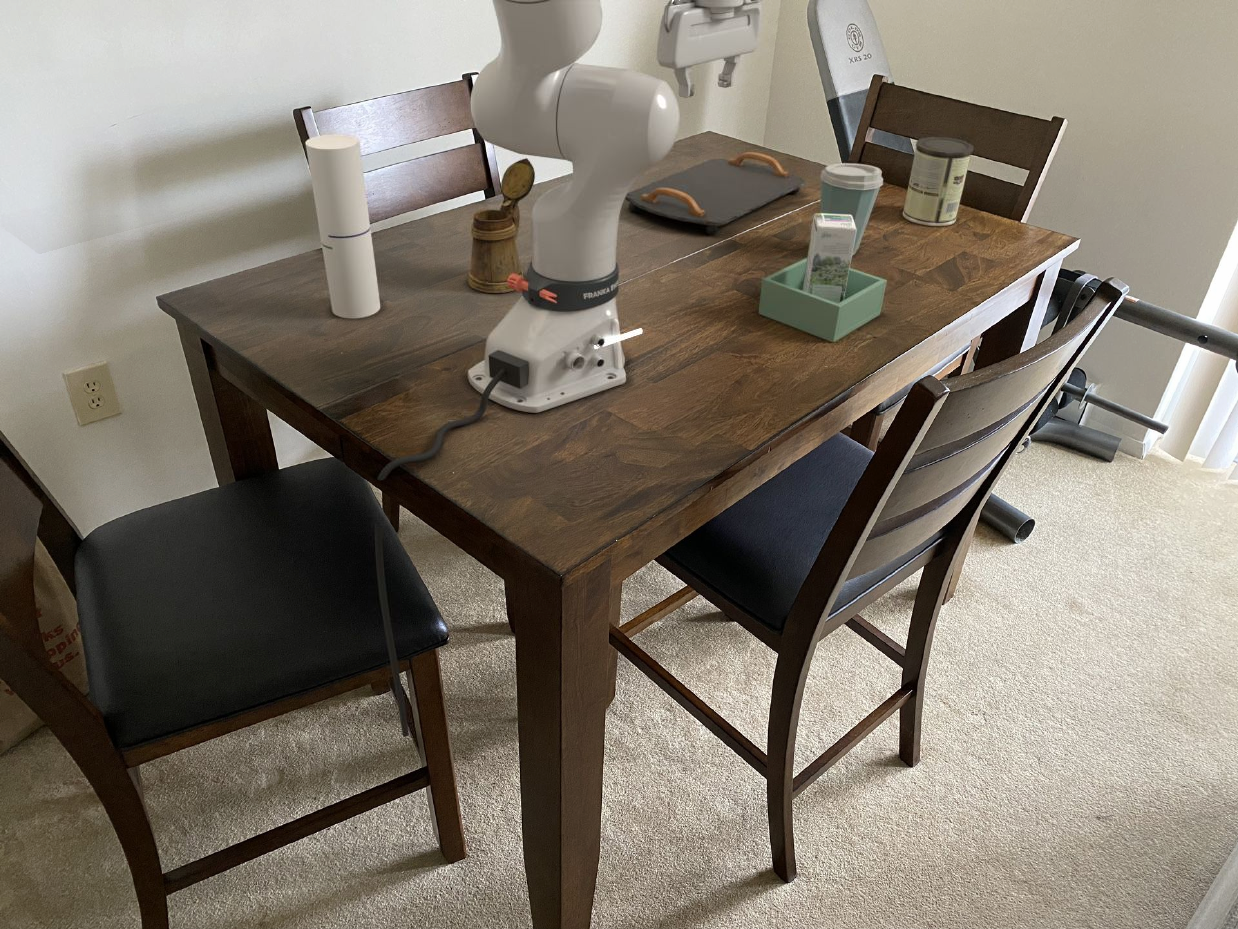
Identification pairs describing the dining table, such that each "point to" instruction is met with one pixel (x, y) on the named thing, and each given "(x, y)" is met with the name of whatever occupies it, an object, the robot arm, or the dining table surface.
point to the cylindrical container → (344, 224)
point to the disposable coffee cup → (850, 193)
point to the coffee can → (937, 181)
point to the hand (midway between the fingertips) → (705, 91)
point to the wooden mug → (500, 233)
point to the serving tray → (716, 191)
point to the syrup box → (829, 256)
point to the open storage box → (821, 302)
